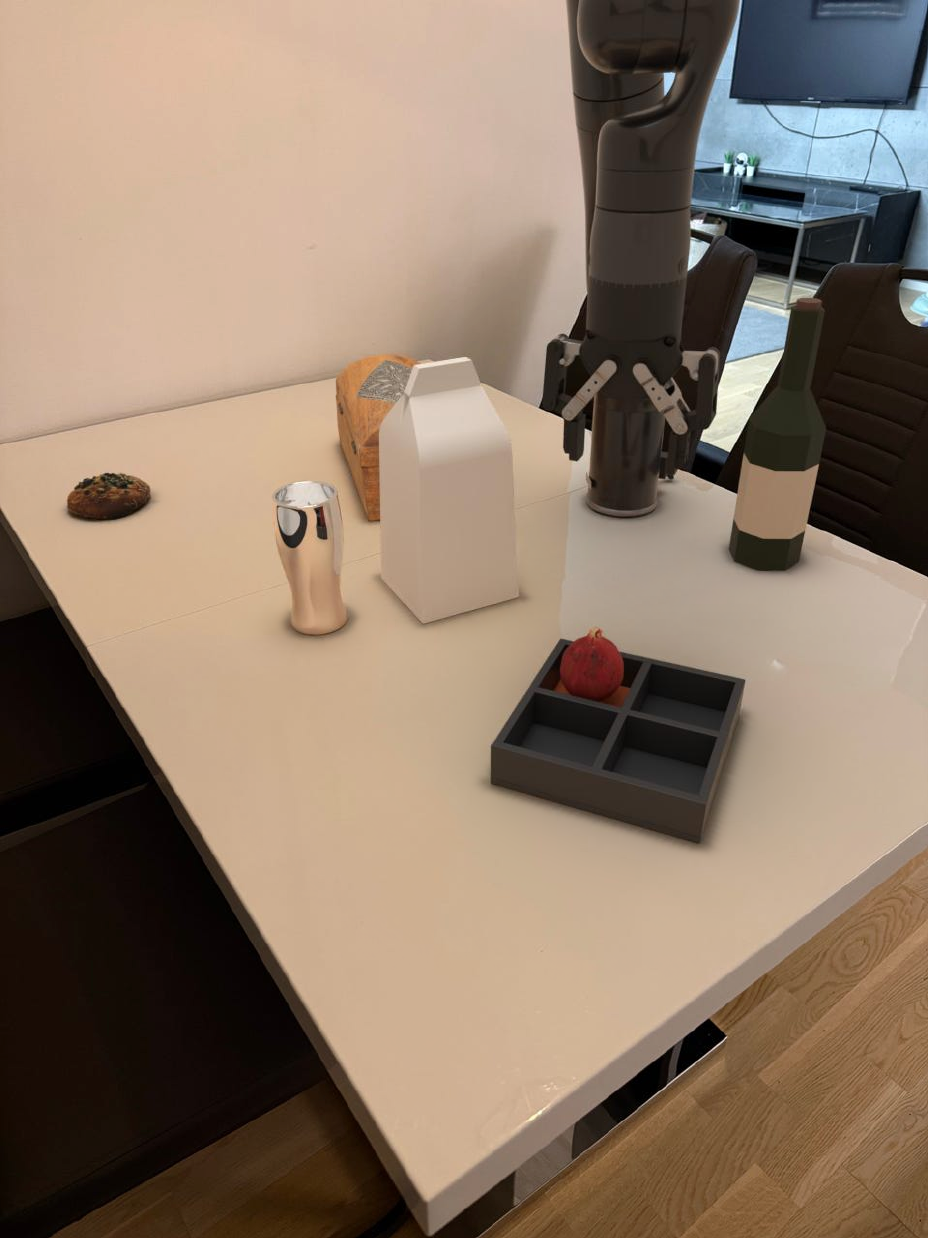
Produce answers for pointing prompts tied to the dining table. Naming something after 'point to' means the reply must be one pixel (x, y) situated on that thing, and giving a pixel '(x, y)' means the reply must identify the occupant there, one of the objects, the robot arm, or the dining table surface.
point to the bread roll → (108, 496)
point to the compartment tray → (624, 743)
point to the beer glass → (311, 553)
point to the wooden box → (368, 417)
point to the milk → (447, 495)
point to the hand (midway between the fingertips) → (623, 464)
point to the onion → (592, 667)
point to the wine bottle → (781, 454)
